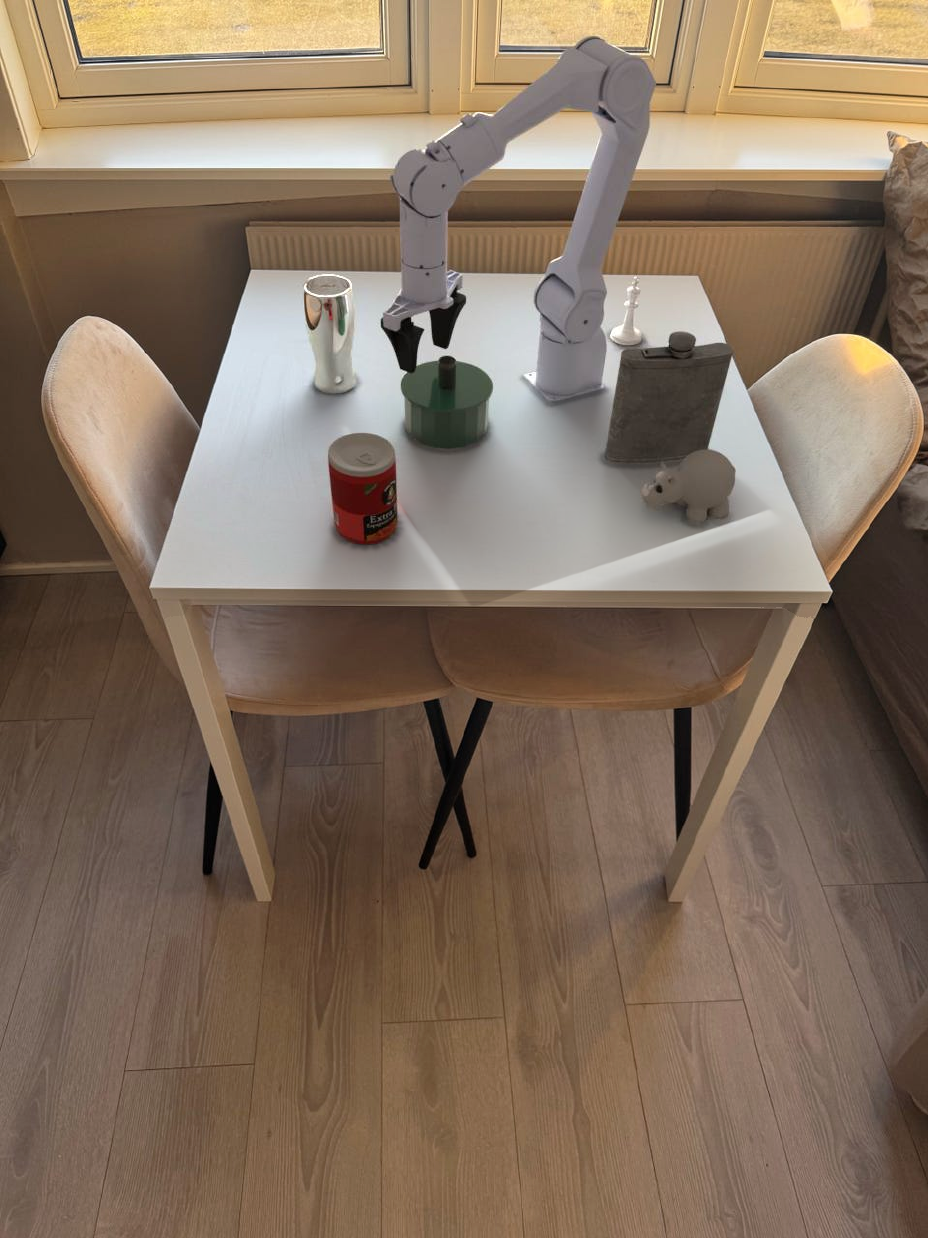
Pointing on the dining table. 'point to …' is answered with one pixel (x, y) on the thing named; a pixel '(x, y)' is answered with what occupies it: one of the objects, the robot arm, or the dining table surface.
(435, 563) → the dining table surface
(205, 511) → the dining table surface
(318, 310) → the beer glass
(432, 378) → the lid
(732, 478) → the toy rhinoceros
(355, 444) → the canned food
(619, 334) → the chess piece
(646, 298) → the dining table surface
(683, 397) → the flask
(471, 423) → the pot
